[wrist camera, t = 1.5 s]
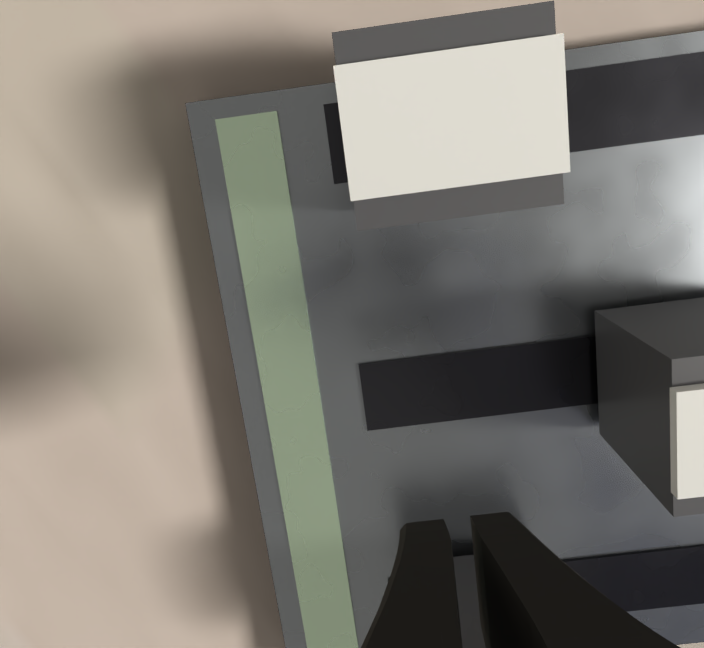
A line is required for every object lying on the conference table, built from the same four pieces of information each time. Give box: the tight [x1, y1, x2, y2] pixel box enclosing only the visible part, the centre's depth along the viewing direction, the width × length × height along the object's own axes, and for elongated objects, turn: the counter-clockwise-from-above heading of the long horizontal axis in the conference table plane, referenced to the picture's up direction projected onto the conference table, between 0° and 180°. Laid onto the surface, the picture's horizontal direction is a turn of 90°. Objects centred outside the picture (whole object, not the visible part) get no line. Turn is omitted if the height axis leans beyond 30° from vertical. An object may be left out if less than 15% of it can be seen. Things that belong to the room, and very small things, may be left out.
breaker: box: [332, 1, 570, 231], centre depth 14 cm, size 4×4×5 cm
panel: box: [185, 31, 704, 648], centre depth 19 cm, size 18×24×2 cm
